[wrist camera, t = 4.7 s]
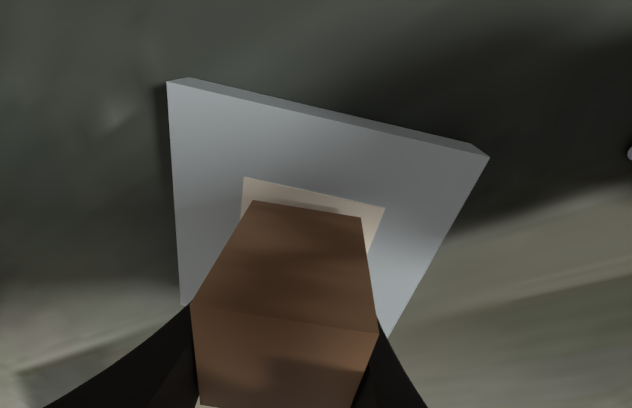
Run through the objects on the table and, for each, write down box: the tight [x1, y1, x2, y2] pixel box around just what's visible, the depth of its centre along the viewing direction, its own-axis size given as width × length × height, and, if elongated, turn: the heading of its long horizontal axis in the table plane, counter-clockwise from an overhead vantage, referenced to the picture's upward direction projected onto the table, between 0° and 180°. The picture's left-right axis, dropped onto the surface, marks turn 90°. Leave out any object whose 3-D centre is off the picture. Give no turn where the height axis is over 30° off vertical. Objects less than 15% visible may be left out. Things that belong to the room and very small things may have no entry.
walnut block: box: [190, 200, 379, 408], centre depth 11 cm, size 5×5×6 cm
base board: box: [166, 77, 490, 338], centre depth 16 cm, size 14×14×2 cm
